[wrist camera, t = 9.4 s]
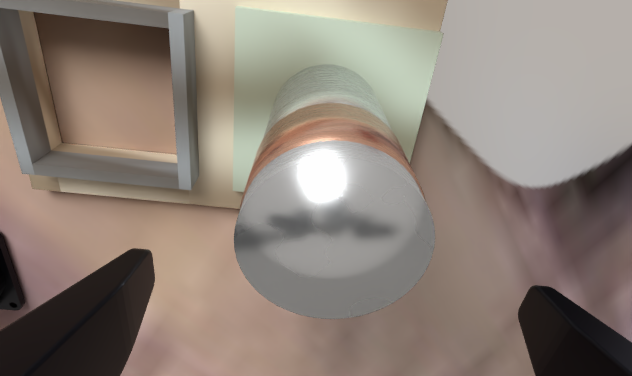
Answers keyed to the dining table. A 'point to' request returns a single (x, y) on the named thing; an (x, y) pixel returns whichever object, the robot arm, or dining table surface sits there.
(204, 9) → the pocket board
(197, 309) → the dining table surface
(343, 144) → the steel tin
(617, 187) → the dining table surface
